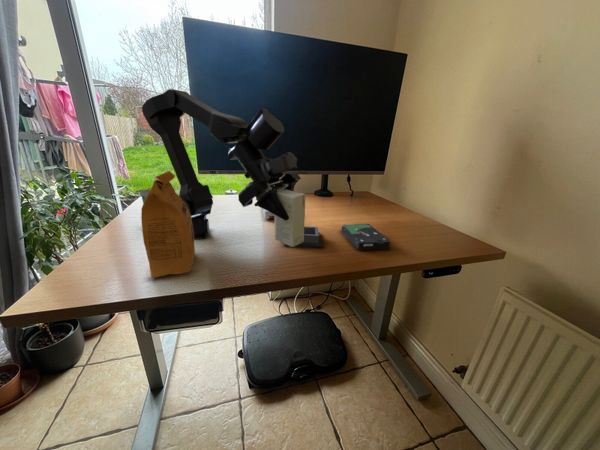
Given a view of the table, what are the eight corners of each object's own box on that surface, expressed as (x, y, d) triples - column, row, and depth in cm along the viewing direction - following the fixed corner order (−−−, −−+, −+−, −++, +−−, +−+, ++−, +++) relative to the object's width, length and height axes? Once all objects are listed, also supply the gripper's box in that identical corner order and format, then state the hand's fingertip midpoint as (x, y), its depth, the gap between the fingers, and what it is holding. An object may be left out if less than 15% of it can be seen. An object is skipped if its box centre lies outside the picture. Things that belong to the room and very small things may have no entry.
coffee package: (201, 251, 65) (192, 169, 57) (193, 277, 54) (180, 180, 46) (161, 253, 63) (146, 169, 55) (143, 281, 52) (121, 179, 44)
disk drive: (389, 249, 73) (367, 230, 86) (391, 241, 72) (368, 223, 85) (358, 251, 71) (340, 231, 84) (359, 242, 70) (341, 223, 83)
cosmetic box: (304, 242, 59) (307, 194, 54) (292, 248, 56) (294, 197, 51) (285, 234, 63) (286, 188, 58) (273, 239, 60) (273, 191, 55)
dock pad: (321, 248, 71) (322, 237, 70) (284, 246, 71) (285, 236, 70) (319, 234, 81) (320, 225, 79) (286, 232, 80) (286, 223, 79)
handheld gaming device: (283, 208, 105) (283, 200, 104) (288, 220, 92) (288, 210, 90) (262, 209, 103) (262, 200, 102) (265, 221, 90) (264, 211, 88)
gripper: (248, 139, 45) (297, 207, 44) (296, 139, 60) (332, 189, 60) (219, 176, 51) (261, 236, 50) (269, 167, 66) (302, 213, 66)
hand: (293, 216), depth 56 cm, fingers closed on cosmetic box, 5 cm apart
